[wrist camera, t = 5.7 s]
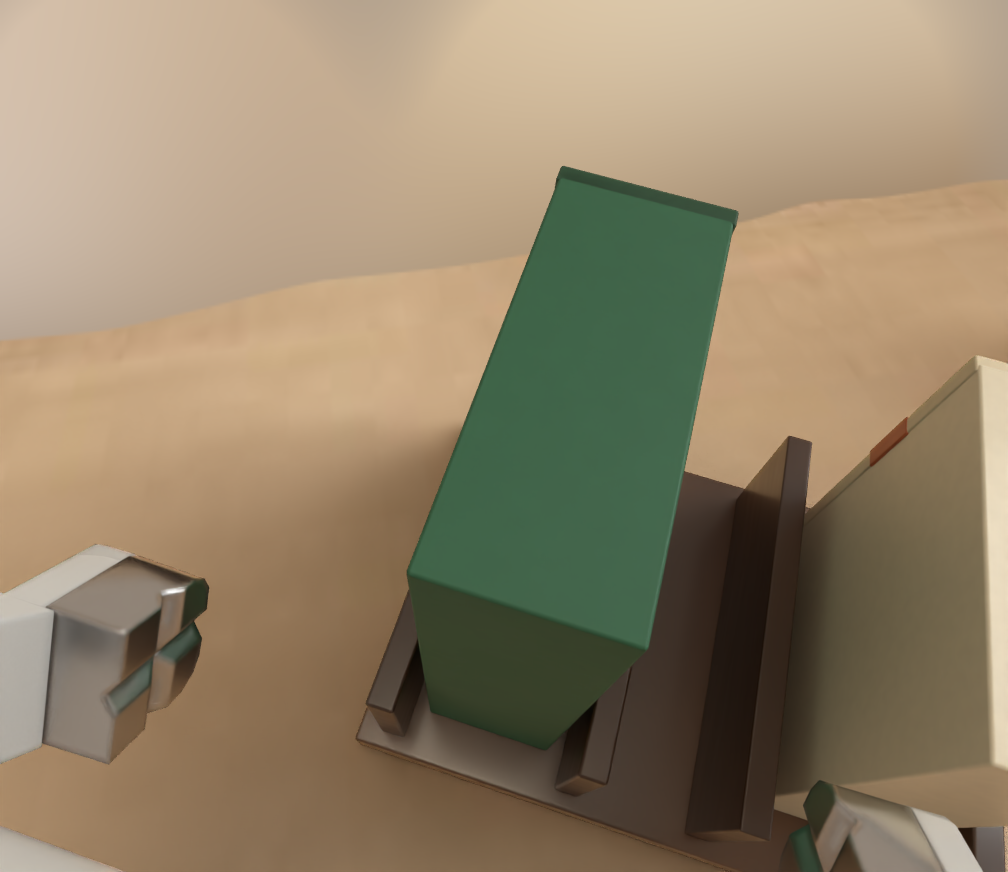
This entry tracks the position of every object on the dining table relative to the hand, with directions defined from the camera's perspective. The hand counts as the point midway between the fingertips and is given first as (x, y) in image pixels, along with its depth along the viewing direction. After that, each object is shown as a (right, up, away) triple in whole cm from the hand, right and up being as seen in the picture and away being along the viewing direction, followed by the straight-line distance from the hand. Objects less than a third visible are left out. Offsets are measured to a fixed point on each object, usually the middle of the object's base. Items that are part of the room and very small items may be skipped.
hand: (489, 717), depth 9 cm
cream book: (+11, -5, +16) cm, 20 cm away
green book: (+1, -2, +17) cm, 17 cm away
